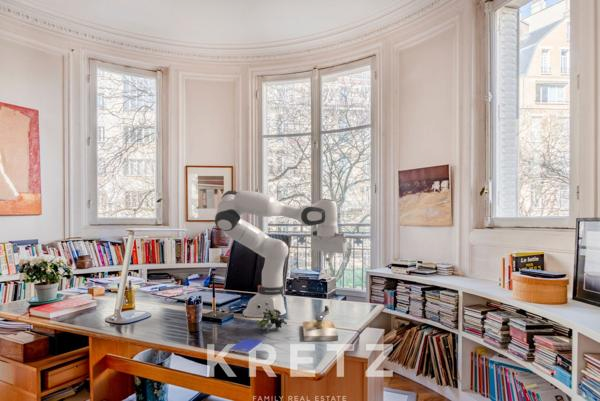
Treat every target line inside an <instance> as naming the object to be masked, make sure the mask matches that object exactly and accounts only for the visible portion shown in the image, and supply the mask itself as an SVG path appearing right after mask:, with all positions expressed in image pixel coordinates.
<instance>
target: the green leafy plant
mask: <svg viewBox="0 0 600 401" xmlns="http://www.w3.org/2000/svg"><path fill="white" fill-rule="evenodd" d="M273 310H274V311H275V312H276V313H275V312H274V311H271V310H269V311H268V313H266V312H264V311H263V315H264V314H265V315H264V317H262V319H261V320H258V319H256V322H255V325H257V328H260V329H262V330H265V327H266V326H267V330H266V333H268V332H269V331H270V329H271V328H272V327H273V326H272V325H274V326H275V329H279V328H281V329H283V328H282V324H284V325H287V324H288V322H287V321H285V318H284V317H282V316H283V315H280V314H281V312H280V311H279V310H277V309H273Z"/></svg>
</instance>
